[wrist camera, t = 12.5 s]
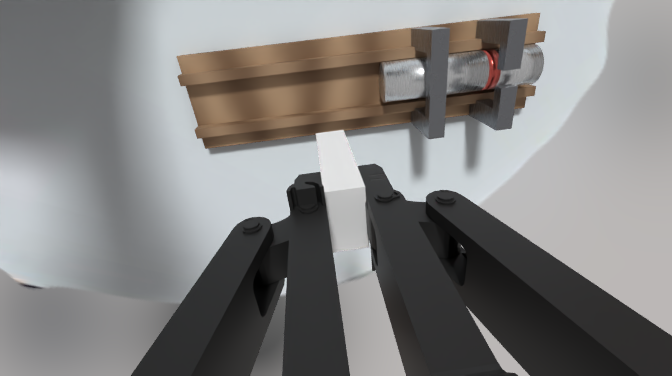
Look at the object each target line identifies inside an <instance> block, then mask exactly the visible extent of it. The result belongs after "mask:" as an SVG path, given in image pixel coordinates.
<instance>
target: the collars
mask: <svg viewBox="0 0 672 376" xmlns="http://www.w3.org/2000/svg"><path fill="white" fill-rule="evenodd" d="M527 24H528V18H515V19H486V20H477V26H476V37H475V38H477V39H482V42H484V43H493V44H500V50H499V58H498V66H497V69H499V70H503V71H506V70H514V69H521V63H522V56H523V50H524V43H525V37H526V30H527ZM449 38H450V28H445V27H419V28H411V46H412V47H415V50H416V51H420V52H423V53H427V63H426V103H425V107H420V108H414V111H411V123H412V124H413V125H414V126H415V127H416V128H417V129H418V130H419V131H420V132H422V133H423V134H424V135H425V136H426V137H427V138H428V139H434V138H442V137H444V130H445V112H446V93H447V75H448V56H449ZM517 89H518V86H516V85H512V84H507V85H499V86H495V91H494V99H493V100H492V99H483V100H476V103H473V104H470V105H469V115H470V116H472V117H473V118H475V119H477V120H479V121H480V122H482V123H484V124H486V125H487V126H489V127H491V128H493V129H494V130H503V129H511V128H512V121H513V115H514V108H515V102H516V95H517Z"/></svg>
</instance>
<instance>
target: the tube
mask: <svg viewBox="0 0 672 376" xmlns="http://www.w3.org/2000/svg"><path fill="white" fill-rule="evenodd" d="M499 50H500V48H498V49H489V50H481V51H473V52H464V53H456V54H449V56H448V75H447V93H446V95H448V94H456V93H464V92H472V91H480V90H488V89H495V86H499V85H507V84H512V85H516V86H521V85H529V84H533V83H535V82H536V81H537V80H538V79H539V77H540V75H541V73H542V70H543V65H544V57H543V52H542V50H541V48H540V47H539V46H538V45H535V44H531V45H524V50H523V56H522V63H521V69H514V70H506V71H503V70H499V69H497V66H498V58H499ZM426 63H427V57H423V58H414V59H406V60H397V61H389V62H381V63H380V65H379V90H380V95H381V99H382V101H383V102H391V101H399V100H407V99H415V98H423V97H426Z"/></svg>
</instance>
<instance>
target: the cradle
mask: <svg viewBox="0 0 672 376" xmlns="http://www.w3.org/2000/svg"><path fill="white" fill-rule="evenodd" d="M539 17H540V13H531V14H523V15H515V16H506V17H498V18H490V19H515V18H528V24H527V30H526V37H525V43H524V45H531V44H535V43H538V42H544V39H545V33H546V31H537V29H538V23H539ZM481 20H486V19H481ZM476 26H477V20H473V21H465V22H456V23H448V24H440V25H431V26H423V27H445V28H450V38H449V54H456V53H464V52H473V51H481V50H489V49H498V48H500V44H493V43H484V42H482V39H477V38H475V37H476ZM415 28H419V27H415ZM423 57H427V53H423V52H420V51H416V50H415V47H412V46H411V28H406V29H398V30H390V31H381V32H373V33H365V34H356V35H348V36H340V37H331V38H323V39H314V40H306V41H298V42H289V43H281V44H273V45H264V46H256V47H248V48H239V49H231V50H223V51H214V52H206V53H198V54H189V55H181V56H177V59H178V62H179V66H180V69H181V72H182V74H181V75H179V76H178V79H179V82H180V85H181V86H186V88H187V91H188V94H189V98H190V101H191V104H192V107H193V110H194V114H195V117H196V120H197V123H198V127H197V128H196V129H195V133H196V136H197V139H198V138H202V139H203V143H204V146H205V149H207V148H214V147H222V146H230V145H238V144H246V143H253V142H261V141H269V140H277V139H284V138H292V137H300V136H308V135H315V134H316V133H323V132H330V131H338V130H344V131H347V130H354V129H362V128H370V127H378V126H385V125H393V124H401V123H409V122H411V111H414V108H420V107H425V103H426V97H423V98H415V99H407V100H399V101H391V102H383V101H382V99H381V95H380V90H379V65H380V63H381V62H389V61H397V60H406V59H414V58H423ZM535 89H536V86H532V85H521V86H518V89H517V95H516V102H515V108H514V109H517V108H524V107H525V101H526V97H527V96H534V95H535ZM494 91H495V89H488V90H480V91H472V92H464V93H456V94H448V95H446V112H445V118H448V117H455V116H463V115H469V105H470V104H473V103H476V100H483V99H492V100H493V99H494Z"/></svg>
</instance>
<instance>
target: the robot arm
mask: <svg viewBox="0 0 672 376" xmlns="http://www.w3.org/2000/svg"><path fill="white" fill-rule="evenodd" d="M316 140H317V148H318V155H319V163H320V171H321V172H316V173H309V174H302V175H299V176H298V177H297V178H296V179H295V183H294V184H292V185H291V186H290V187H288V189H287V191H286V192H287V197H288V202H289V207H290V216H288V217H287V218H286V219H284V220H282V221H279V222H277V223H274V224H271V222H270V220H269V219H267V218H264V217H252V218H249V219H245V220H244V221H242V222H240V223H238V224H237V225H236V226H235V227H234V229H233V230H232V231H231V233H230V234H229V236H228V237H227V239H226V240H225V241H224V243H223V244H222V246H221V247H220V249H219V250H218V251H217V253H216V254H215V256H214V257H213V259H212V260H211V261H210V263H209V264H208V266H207V267H206V269H205V270H204V272H203V273H202V274H201V276H200V277H199V279H198V280H197V282H196V283H195V284H194V286H193V287H192V289H191V290H190V292H189V293H188V294H187V296H186V297H185V299H184V300H183V302H182V303H181V304H180V306H179V307H178V309H177V310H176V312H175V313H174V314H173V316H172V317H171V319H170V320H169V322H168V323H167V325H166V326H165V327H164V329H163V331H162V332H161V333H160V335H159V336H158V337H157V339H156V340H155V342H154V343H153V345H152V346H151V348H150V349H149V350H148V352H147V353H146V355H145V356H144V358H143V359H142V361H141V362H140V363H139V365H138V366H137V368H136V369H135V370H134V372H133V373H132V375H131V376H250V374H251V371H252V369H253V366H254V363H255V361H256V358H257V355H258V353H259V350H260V347H261V345H262V342H263V339H264V337H265V334H266V331H267V328H268V326H269V323H270V321H271V318H272V315H273V313H274V310H275V307H276V305H277V302H278V299H279V297H280V294H281V291H282V289H283V286H284V281H285V279H284V278H286V277H287V290H286V310H285V331H284V351H283V352H284V353H283V372H282V376H350V373H349V365H348V358H347V351H346V344H345V336H344V329H343V322H342V315H341V308H340V302H339V294H338V287H337V279H336V272H335V265H334V258H333V253H334V252H341V251H348V250H355V249H362V248H368V247H369V241H370V244H371V258H372V271H375V270H376V273H377V277H378V280H379V283H380V287H381V291H382V294H383V297H384V301H385V304H386V308H387V311H388V315H389V318H390V322H391V325H392V328H393V332H394V335H395V338H396V342H397V346H398V349H399V352H400V356H401V359H402V363H403V366H404V370H405V373H406V376H518V375H517V374H515V373H507V372H505V371H504V370H503V369H502V368H501V367H500V365H499V363H498V362H497V360H496V359H495V356H494V355H493V353H492V351H491V349H490V348H489V346H488V344H487V342H486V341H485V339H484V337H483V335H482V334H481V332H480V330H479V328H478V326H477V325H476V323H475V321H474V320H473V318H472V316H471V314H470V313H469V311H468V309H467V308H466V306H467V307H468V308H469V309H470V311H471V312H472V313H473V314H474V315H475V316H476V317H477V318H478V319H479V320H480V322H482V324H483V325H484V326H485V327H486V328H487V329H488V330H489V331H490V333H492V335H493V336H494V337H495V338H496V339H497V340H498V341H499V342H500V343H501V345H502V346H503V347H504V348H505V349H506V350H507V351H508V352H509V353H510V354H511V355H512V356H513V358H514V359H515V360H516V361H517V362H518V363H519V364H520V365H521V366H522V368H523V369H525V371H526V372H527V373H528V374H529V375H530V376H672V336H671V335H670V334H668V333H667V332H665V331H663V330H662V329H661V328H659V327H658V326H656V325H655V324H653V323H652V322H650V321H649V320H647V319H646V318H644V317H643V316H641V315H640V314H638V313H637V312H635V311H634V310H632V309H631V308H629V307H628V306H626V305H625V304H623V303H622V302H620V301H619V300H617V299H616V298H614V297H613V296H611V295H610V294H608V293H607V292H605V291H604V290H602V289H601V288H599V287H598V286H597V285H595V284H593V283H592V282H591V281H589V280H588V279H586V278H584V277H583V276H582V275H580V274H579V273H577V272H576V271H574V270H573V269H571V268H569V267H568V266H567V265H565V264H564V263H562V262H561V261H559V260H558V259H556V258H555V257H553V256H552V255H550V254H549V253H547V252H546V251H544V250H543V249H541V248H540V247H538V246H537V245H535V244H534V243H532V242H531V241H529V240H528V239H526V238H525V237H523V236H522V235H520V234H519V233H517V232H516V231H514V230H513V229H511V228H510V227H508V226H507V225H506V224H504V223H503V222H501V221H500V220H498V219H497V218H495V217H494V216H492V215H490V214H489V213H487V212H486V211H485V210H483V209H482V208H480V207H479V206H477V205H476V204H474V203H473V202H471V201H470V200H468V199H467V198H465V197H464V196H462V195H461V194H458V193H456V192H453V191H449V190H440V191H434V192H432V193H430V194H428V195H427V197H426V202H413V201H407V200H405V198H404V196H403V195H402V194H401V193H400V192H399V191H396V190H393V188H392V186H391V184H390V182H389V180H388V178H387V176H386V175H385V173H384V171H383V169H382V168H381V167H380V166H378V165H376V164H370V165H362V166H357V164H356V161H355V159H354V156H353V153H352V151H351V148H350V145H349V143H348V140H347V137H346V135H345V132H344V130H338V131H330V132H323V133H316ZM461 245H462V246H463V248H464V249H465V250H464V249H463V248H462V247H461Z"/></svg>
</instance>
